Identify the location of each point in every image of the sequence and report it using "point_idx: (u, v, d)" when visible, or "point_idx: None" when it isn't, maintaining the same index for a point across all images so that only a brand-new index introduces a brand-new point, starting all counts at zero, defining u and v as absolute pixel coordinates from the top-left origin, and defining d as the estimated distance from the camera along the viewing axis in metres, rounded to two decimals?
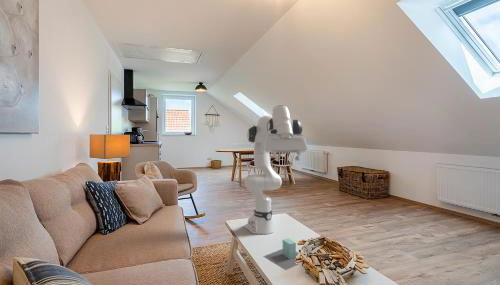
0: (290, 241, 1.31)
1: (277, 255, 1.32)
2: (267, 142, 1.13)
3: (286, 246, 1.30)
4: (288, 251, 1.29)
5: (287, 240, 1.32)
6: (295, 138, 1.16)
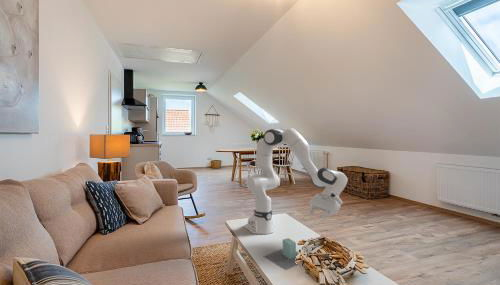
0: (290, 241, 1.31)
1: (277, 255, 1.32)
2: None
3: (286, 246, 1.30)
4: (288, 251, 1.29)
5: (287, 240, 1.32)
6: None
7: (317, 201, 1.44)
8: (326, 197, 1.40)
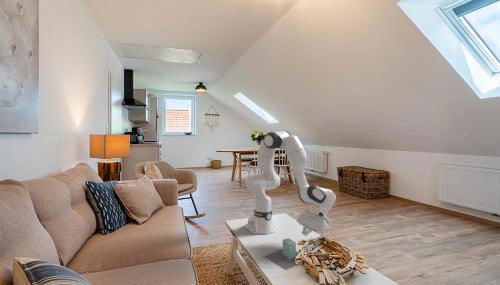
0: (290, 241, 1.31)
1: (277, 255, 1.32)
2: None
3: (286, 246, 1.30)
4: (288, 251, 1.29)
5: (287, 240, 1.32)
6: None
7: (305, 219, 1.41)
8: (314, 216, 1.37)
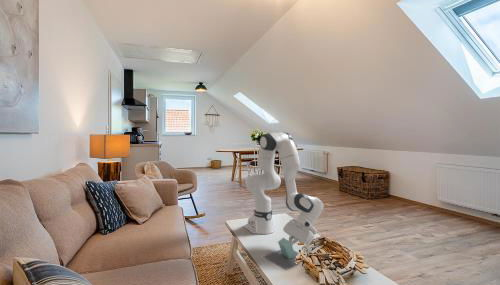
0: (285, 242, 1.29)
1: (277, 255, 1.32)
2: None
3: (283, 248, 1.29)
4: (286, 252, 1.28)
5: (282, 241, 1.31)
6: None
7: (291, 228, 1.37)
8: (300, 225, 1.33)
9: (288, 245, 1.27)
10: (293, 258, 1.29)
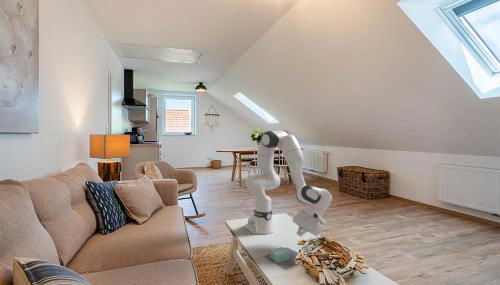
0: (274, 256, 1.27)
1: None
2: None
3: None
4: None
5: (272, 256, 1.28)
6: None
7: (300, 219, 1.40)
8: (309, 216, 1.35)
9: (278, 258, 1.25)
10: (293, 258, 1.29)
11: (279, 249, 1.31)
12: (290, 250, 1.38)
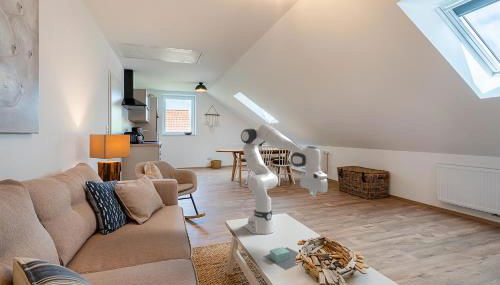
0: (274, 256, 1.27)
1: None
2: None
3: None
4: None
5: (272, 256, 1.28)
6: None
7: (306, 183, 1.47)
8: (311, 178, 1.42)
9: (278, 258, 1.25)
10: (293, 258, 1.29)
11: (279, 249, 1.31)
12: (290, 250, 1.38)
